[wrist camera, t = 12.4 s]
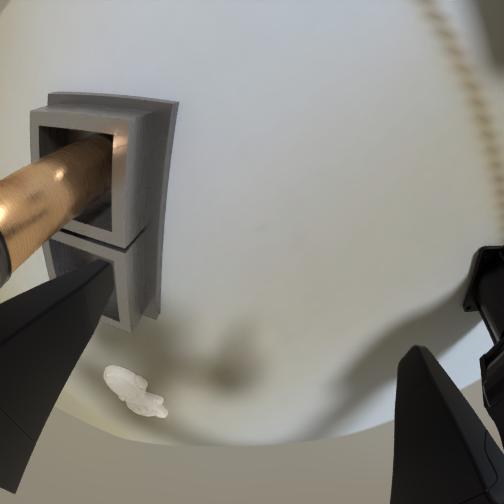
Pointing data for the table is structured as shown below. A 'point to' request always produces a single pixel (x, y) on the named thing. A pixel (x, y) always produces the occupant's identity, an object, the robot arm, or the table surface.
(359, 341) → the table surface
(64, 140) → the grey two-compartment tray
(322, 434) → the table surface
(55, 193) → the copper tube
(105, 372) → the astronaut figurine
